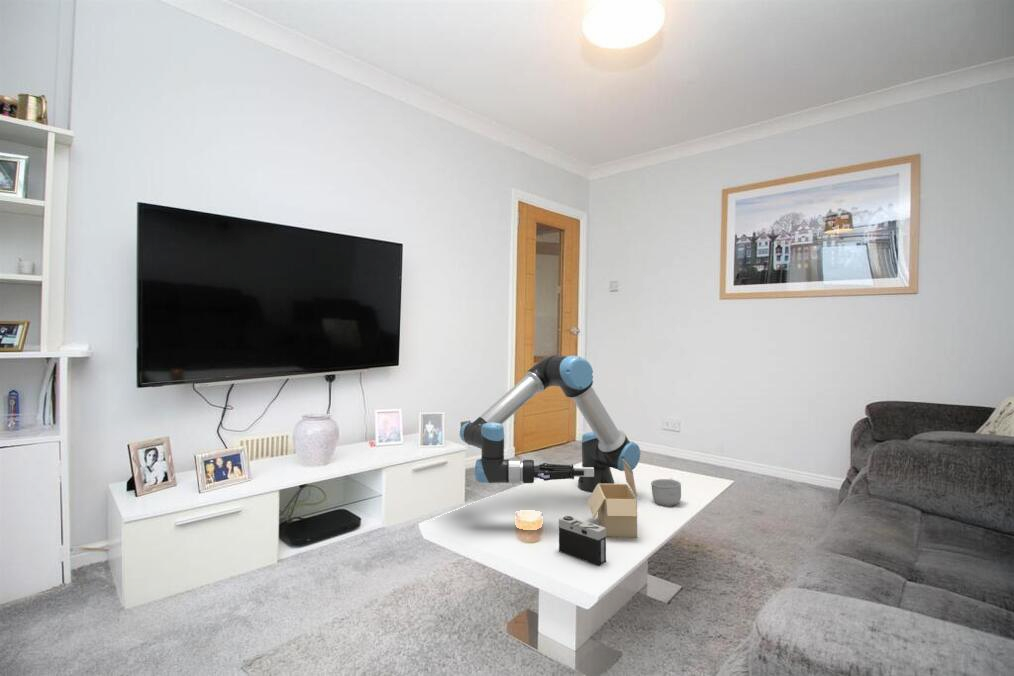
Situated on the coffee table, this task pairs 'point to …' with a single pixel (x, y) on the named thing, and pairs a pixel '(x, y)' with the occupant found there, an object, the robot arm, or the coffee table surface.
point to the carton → (615, 509)
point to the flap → (629, 476)
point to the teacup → (666, 491)
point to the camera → (582, 540)
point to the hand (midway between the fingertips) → (593, 472)
